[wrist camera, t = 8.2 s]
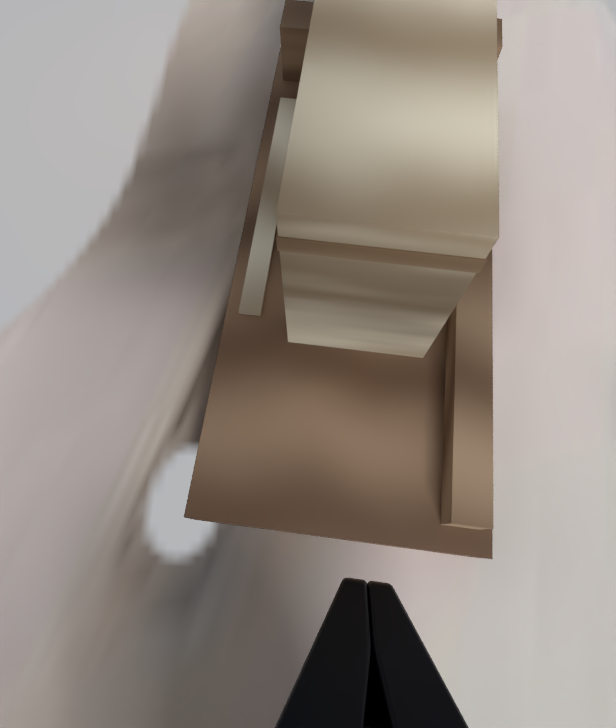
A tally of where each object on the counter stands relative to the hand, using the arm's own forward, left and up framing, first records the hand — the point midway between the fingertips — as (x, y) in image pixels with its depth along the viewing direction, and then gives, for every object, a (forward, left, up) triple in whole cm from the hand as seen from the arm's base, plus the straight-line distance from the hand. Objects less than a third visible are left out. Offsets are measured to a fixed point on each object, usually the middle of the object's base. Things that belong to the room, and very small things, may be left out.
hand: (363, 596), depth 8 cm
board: (+12, +6, -13) cm, 19 cm away
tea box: (+14, +7, -11) cm, 19 cm away
